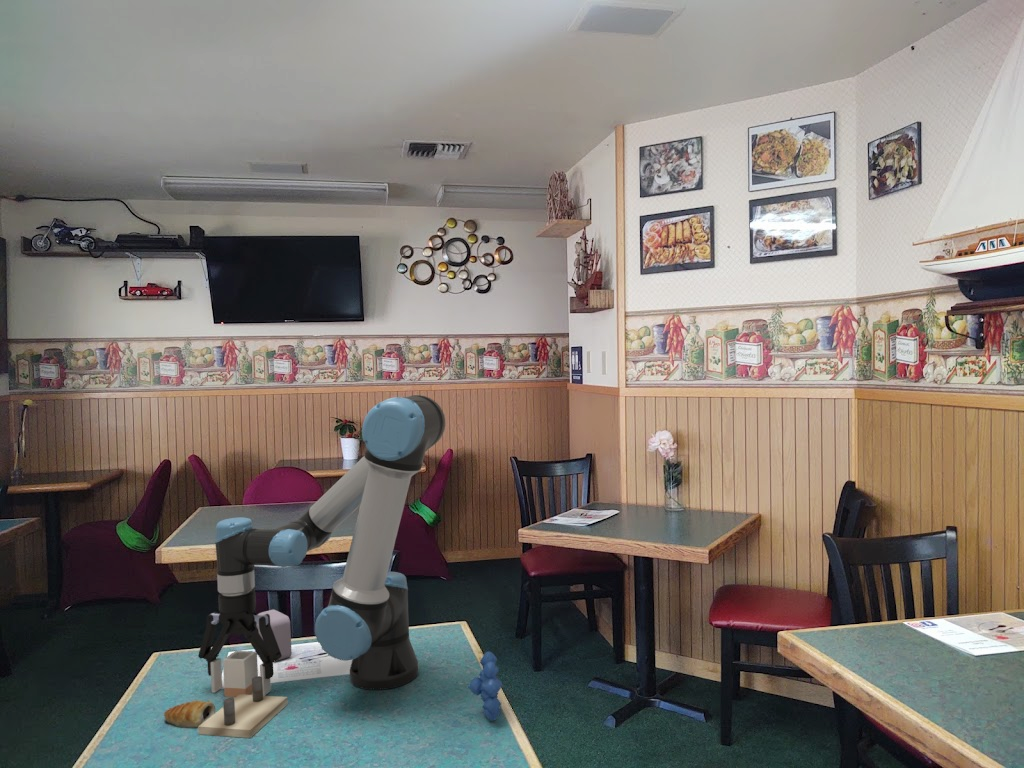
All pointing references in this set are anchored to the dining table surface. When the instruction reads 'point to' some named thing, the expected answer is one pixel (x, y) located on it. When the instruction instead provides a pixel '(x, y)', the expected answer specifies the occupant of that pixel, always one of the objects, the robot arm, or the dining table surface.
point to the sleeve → (239, 673)
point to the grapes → (488, 686)
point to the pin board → (243, 713)
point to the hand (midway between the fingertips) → (241, 691)
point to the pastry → (190, 713)
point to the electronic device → (280, 631)
